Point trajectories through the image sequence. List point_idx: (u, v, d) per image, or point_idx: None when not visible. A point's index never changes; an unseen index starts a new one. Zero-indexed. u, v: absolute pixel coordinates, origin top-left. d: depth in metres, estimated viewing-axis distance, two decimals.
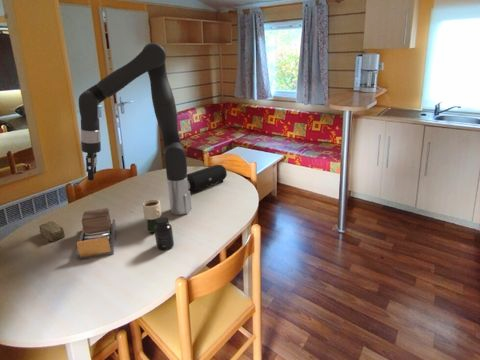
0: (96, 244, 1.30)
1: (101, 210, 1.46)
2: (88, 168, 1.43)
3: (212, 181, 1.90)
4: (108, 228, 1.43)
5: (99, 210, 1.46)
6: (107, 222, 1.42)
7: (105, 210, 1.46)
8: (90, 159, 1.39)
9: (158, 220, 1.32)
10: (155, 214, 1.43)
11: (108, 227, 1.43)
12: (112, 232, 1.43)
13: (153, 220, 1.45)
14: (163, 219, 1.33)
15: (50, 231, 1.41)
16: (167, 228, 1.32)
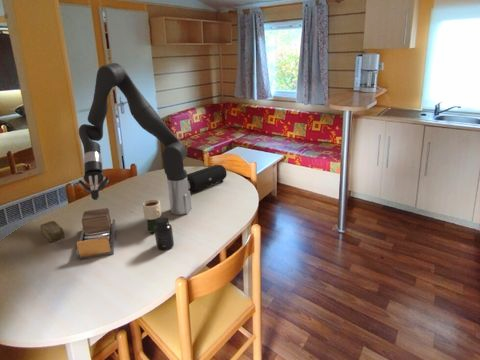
0: (96, 244, 1.30)
1: (101, 210, 1.46)
2: None
3: (212, 181, 1.90)
4: (108, 228, 1.43)
5: (99, 210, 1.46)
6: (107, 222, 1.42)
7: (105, 210, 1.46)
8: (79, 182, 1.51)
9: (158, 220, 1.32)
10: (155, 214, 1.43)
11: (108, 227, 1.43)
12: (112, 232, 1.43)
13: (153, 220, 1.45)
14: (163, 219, 1.33)
15: (49, 232, 1.41)
16: (167, 228, 1.32)
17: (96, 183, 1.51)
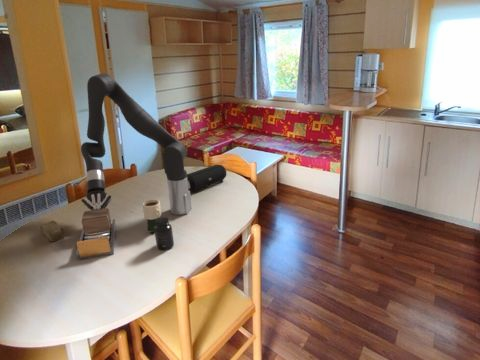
0: (96, 244, 1.30)
1: (101, 210, 1.46)
2: None
3: (212, 181, 1.90)
4: (108, 228, 1.43)
5: (99, 210, 1.46)
6: (107, 222, 1.42)
7: (105, 210, 1.46)
8: (82, 201, 1.51)
9: (158, 220, 1.32)
10: (155, 214, 1.43)
11: (108, 227, 1.43)
12: (112, 232, 1.43)
13: (153, 220, 1.45)
14: (163, 219, 1.33)
15: (50, 231, 1.41)
16: (167, 228, 1.32)
17: (99, 202, 1.51)
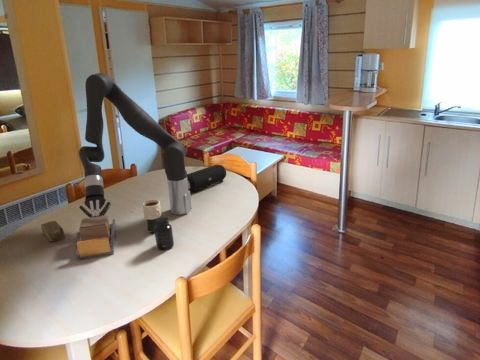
0: (96, 244, 1.30)
1: (100, 218, 1.40)
2: None
3: (212, 181, 1.90)
4: (107, 236, 1.37)
5: (97, 218, 1.40)
6: (106, 230, 1.36)
7: (104, 218, 1.40)
8: (80, 208, 1.44)
9: (158, 220, 1.32)
10: (155, 214, 1.43)
11: (107, 235, 1.37)
12: (112, 232, 1.43)
13: (153, 220, 1.45)
14: (163, 219, 1.33)
15: (49, 232, 1.41)
16: (167, 228, 1.32)
17: (97, 208, 1.44)
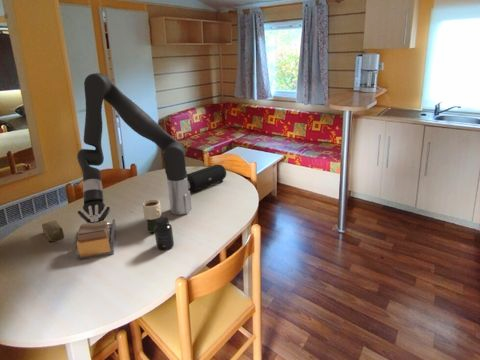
0: (96, 244, 1.30)
1: (99, 223, 1.35)
2: None
3: (212, 181, 1.90)
4: None
5: (96, 224, 1.35)
6: None
7: (103, 223, 1.35)
8: (78, 213, 1.40)
9: (158, 220, 1.32)
10: (155, 214, 1.43)
11: None
12: (112, 232, 1.43)
13: (153, 220, 1.45)
14: (163, 219, 1.33)
15: (49, 232, 1.41)
16: (167, 228, 1.32)
17: (96, 214, 1.40)
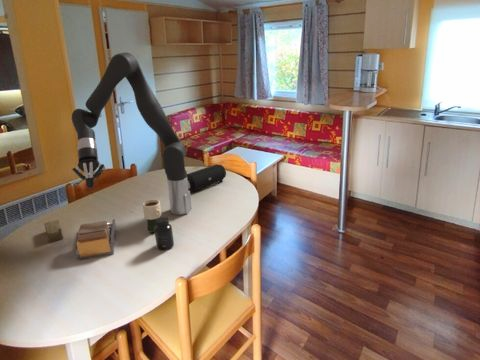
0: (96, 244, 1.30)
1: (99, 223, 1.35)
2: None
3: (212, 181, 1.90)
4: None
5: (96, 224, 1.35)
6: None
7: (103, 223, 1.35)
8: (73, 170, 1.42)
9: (158, 220, 1.32)
10: (155, 214, 1.43)
11: None
12: (112, 232, 1.43)
13: (153, 220, 1.45)
14: (163, 219, 1.33)
15: (47, 232, 1.41)
16: (167, 228, 1.32)
17: (91, 170, 1.42)
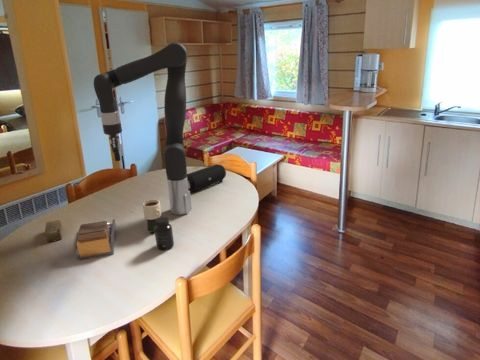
0: (96, 244, 1.30)
1: (99, 223, 1.35)
2: None
3: (212, 181, 1.90)
4: None
5: (96, 224, 1.35)
6: None
7: (103, 223, 1.35)
8: (115, 145, 1.45)
9: (158, 220, 1.32)
10: (155, 214, 1.43)
11: None
12: (112, 232, 1.43)
13: (153, 220, 1.45)
14: (163, 219, 1.33)
15: (46, 232, 1.41)
16: (167, 228, 1.32)
17: (119, 144, 1.53)
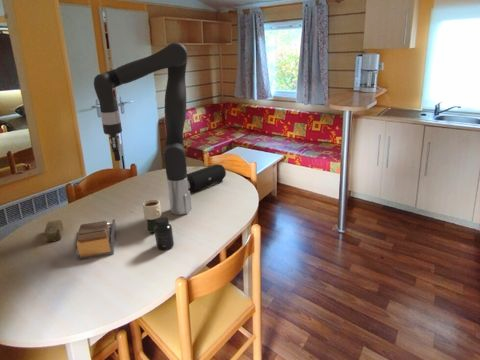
0: (96, 244, 1.30)
1: (99, 223, 1.35)
2: None
3: (212, 181, 1.90)
4: None
5: (96, 224, 1.35)
6: None
7: (103, 223, 1.35)
8: (115, 145, 1.45)
9: (158, 220, 1.32)
10: (155, 214, 1.43)
11: None
12: (112, 232, 1.43)
13: (153, 220, 1.45)
14: (163, 219, 1.33)
15: (45, 232, 1.41)
16: (167, 228, 1.32)
17: (119, 144, 1.52)
